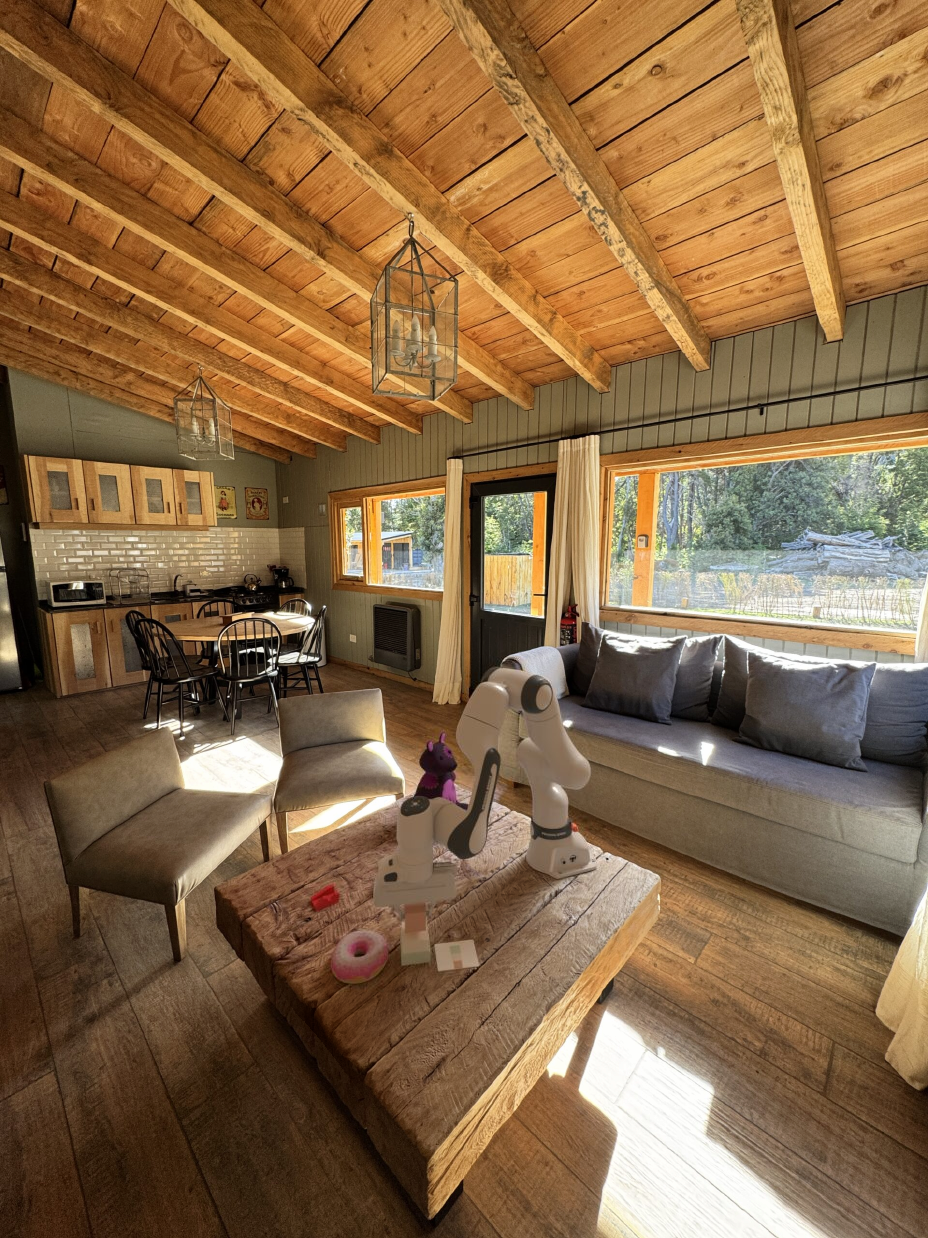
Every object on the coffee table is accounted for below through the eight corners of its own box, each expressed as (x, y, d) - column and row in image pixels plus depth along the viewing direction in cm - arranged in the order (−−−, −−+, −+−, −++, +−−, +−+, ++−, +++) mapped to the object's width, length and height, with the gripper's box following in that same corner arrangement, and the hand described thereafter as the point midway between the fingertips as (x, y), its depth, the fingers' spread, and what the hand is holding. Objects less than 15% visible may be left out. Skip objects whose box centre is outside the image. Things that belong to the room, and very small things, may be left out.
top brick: (424, 915, 124) (424, 897, 123) (425, 930, 119) (426, 912, 118) (404, 917, 123) (404, 899, 122) (405, 933, 118) (405, 914, 117)
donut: (392, 943, 125) (392, 925, 124) (383, 990, 112) (383, 971, 111) (339, 942, 125) (339, 924, 124) (324, 989, 112) (324, 970, 111)
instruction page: (473, 940, 126) (473, 939, 126) (479, 966, 118) (479, 965, 118) (434, 945, 124) (434, 944, 124) (437, 972, 116) (438, 970, 116)
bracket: (333, 893, 143) (332, 883, 142) (338, 903, 139) (338, 893, 138) (310, 901, 139) (310, 892, 139) (316, 912, 135) (315, 902, 135)
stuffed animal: (451, 851, 163) (454, 760, 158) (400, 832, 172) (401, 746, 167) (487, 813, 186) (490, 733, 181) (440, 798, 196) (442, 722, 191)
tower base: (427, 939, 126) (427, 918, 125) (430, 962, 119) (430, 940, 118) (400, 942, 125) (400, 921, 124) (401, 965, 118) (401, 943, 117)
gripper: (455, 853, 123) (454, 902, 125) (372, 860, 120) (373, 911, 122) (459, 869, 117) (458, 921, 119) (372, 877, 114) (373, 930, 116)
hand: (414, 916), depth 120 cm, fingers closed on top brick, 5 cm apart
